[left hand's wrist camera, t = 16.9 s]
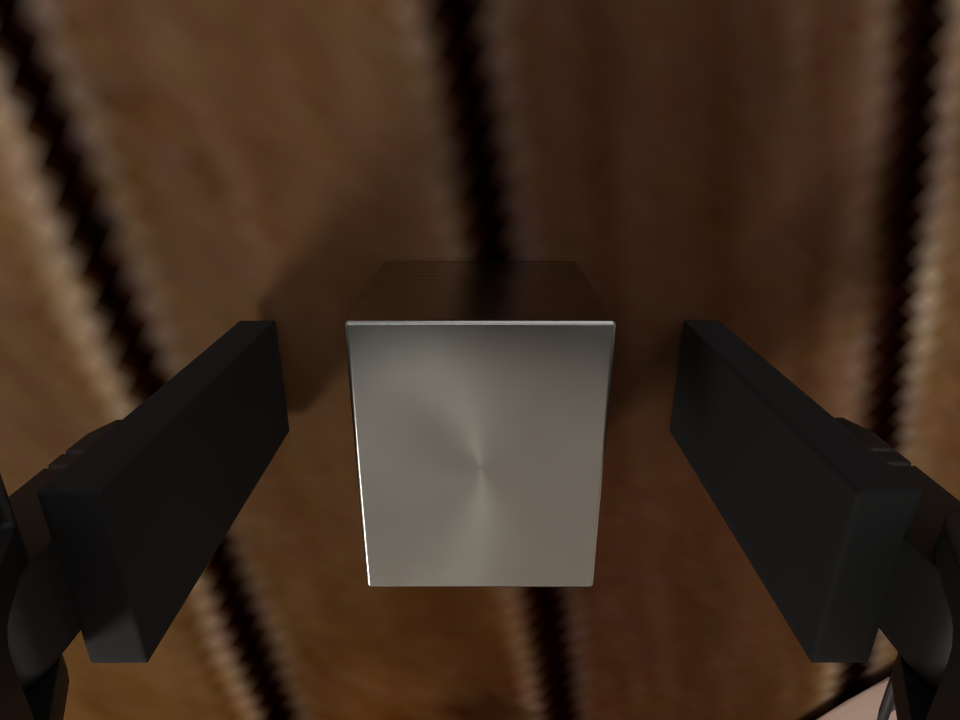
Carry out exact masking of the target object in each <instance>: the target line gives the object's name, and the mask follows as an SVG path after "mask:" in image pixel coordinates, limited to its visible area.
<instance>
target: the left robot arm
mask: <svg viewBox="0 0 960 720" xmlns="http://www.w3.org/2000/svg"><path fill="white" fill-rule="evenodd" d="M288 432H289V425H288V417H287V410H286V402H285V395H284V387H283V380H282V372H281V365H280V357H279V350H278V342H277V334H276V327H275V321H240V322H238V323H237V324H236V325H235V326H234V327H232V328H231V329H230V330H229V331H228V332H227V333H225V334H224V335H223V336H222V337H221V338H219V339H218V340H217V341H216V342H215V343H213V344H212V345H211V346H210V347H209V348H208V349H206V350H205V351H204V352H203V353H202V354H200V355H199V356H198V357H197V358H196V359H194V360H193V361H192V362H191V363H190V364H188V365H187V366H186V367H185V368H184V369H183V370H181V371H180V372H179V373H178V374H177V375H175V376H174V377H173V378H172V379H171V380H169V381H168V382H167V383H166V384H165V385H163V386H162V387H161V388H160V389H159V390H158V391H156V392H155V393H154V394H153V395H152V396H150V397H149V398H148V399H147V400H146V401H144V402H143V403H142V404H141V405H140V406H138V407H137V408H136V409H135V410H134V411H133V412H131V413H130V414H129V415H128V416H127V417H125V418H124V419H123V420H116V421H113V422H111V423H109V424H107V425H105V426H103V427H101V428H99V429H97V430H95V431H93V432H91V433H89V434H87V435H85V436H84V437H83V438H82V439H81V440H79V441H78V442H77V443H76V444H74V445H73V446H72V447H71V448H69V449H68V450H67V451H66V454H62V455H61V456H59V457H58V458H57V459H56V460H54V461H53V462H52V463H51V464H49V468H48V469H43V470H42V471H41V472H39V473H38V474H37V475H36V476H34V477H33V478H32V479H31V480H29V481H28V482H27V483H26V484H24V485H23V486H22V487H21V488H19V489H18V490H17V491H16V492H14V493H13V494H12V495H11V496H9V497H8V495H7V492H6V489H5V486H4V483H3V480H2V477H1V474H0V720H63V718H64V711H65V705H66V698H67V691H68V685H69V677H68V671H67V667H66V664H65V661H64V658H63V655H62V653H63V652H64V651H65V649H66V648H67V647H68V646H69V644H70V643H71V642H72V640H73V639H74V638H75V637H76V635H77V634H78V633H79V631H80V630H81V631H82V635H83V638H84V641H85V644H86V647H87V650H88V653H89V656H90V659H91V663H131V662H148V661H149V659H150V657H151V656H152V654H153V653H154V651H155V649H156V648H157V646H158V644H159V643H160V641H161V639H162V638H163V636H164V635H165V633H166V631H167V630H168V628H169V626H170V625H171V623H172V621H173V620H174V618H175V617H176V615H177V613H178V612H179V610H180V608H181V607H182V605H183V604H184V602H185V600H186V599H187V597H188V595H189V594H190V592H191V590H192V589H193V587H194V586H195V584H196V582H197V581H198V579H199V577H200V576H201V574H202V572H203V571H204V569H205V568H206V566H207V564H208V563H209V561H210V559H211V558H212V556H213V554H214V553H215V551H216V550H217V548H218V546H219V545H220V543H221V541H222V540H223V538H224V536H225V535H226V533H227V532H228V530H229V528H230V527H231V525H232V523H233V522H234V520H235V518H236V517H237V515H238V514H239V512H240V510H241V509H242V507H243V505H244V504H245V502H246V500H247V499H248V497H249V496H250V494H251V492H252V491H253V489H254V487H255V486H256V484H257V483H258V481H259V479H260V478H261V476H262V474H263V473H264V471H265V469H266V468H267V466H268V465H269V463H270V461H271V460H272V458H273V456H274V455H275V453H276V451H277V450H278V448H279V447H280V445H281V443H282V442H283V440H284V438H285V437H286V435H287V433H288ZM670 432H671V433H672V435H673V437H674V438H675V440H676V442H677V443H678V445H679V447H680V448H681V450H682V451H683V453H684V455H685V456H686V458H687V460H688V461H689V463H690V464H691V466H692V468H693V469H694V471H695V473H696V474H697V476H698V478H699V479H700V481H701V482H702V484H703V486H704V487H705V489H706V491H707V492H708V494H709V496H710V497H711V499H712V500H713V502H714V504H715V505H716V507H717V509H718V510H719V512H720V514H721V515H722V517H723V518H724V520H725V522H726V523H727V525H728V527H729V528H730V530H731V532H732V533H733V535H734V536H735V538H736V540H737V541H738V543H739V545H740V546H741V548H742V550H743V551H744V553H745V554H746V556H747V558H748V559H749V561H750V563H751V564H752V566H753V567H754V569H755V571H756V572H757V574H758V576H759V577H760V579H761V581H762V582H763V584H764V585H765V587H766V589H767V590H768V592H769V594H770V595H771V597H772V599H773V600H774V602H775V603H776V605H777V607H778V608H779V610H780V612H781V613H782V615H783V617H784V618H785V620H786V621H787V623H788V625H789V626H790V628H791V630H792V631H793V633H794V635H795V636H796V638H797V639H798V641H799V643H800V644H801V646H802V648H803V649H804V651H805V653H806V654H807V656H808V657H809V659H810V661H811V662H868V659H869V656H870V653H871V650H872V647H873V643H874V640H875V637H876V634H877V631H878V628H880V629H881V631H882V632H883V633H884V634H885V636H886V637H887V638H888V640H889V641H890V642H891V643H892V645H893V646H894V647H895V648H896V650H897V651H898V655H897V658H896V661H895V664H894V667H893V669H892V672H891V675H890V678H889V681H888V684H887V687H886V690H885V693H884V696H883V699H882V702H881V704H880V707H879V711H878V717H877V720H889V717H890V714H891V712H892V711H894V710H896V716H897V720H960V501H959V500H957V499H956V498H955V497H954V496H952V495H951V494H950V493H949V492H947V491H946V490H945V489H944V488H942V487H941V486H940V485H939V484H937V483H936V482H935V481H933V480H932V479H931V478H930V477H928V476H927V475H926V474H925V473H923V472H922V471H921V470H920V469H918V468H917V467H916V466H911V462H910V461H908V460H907V459H906V458H905V457H903V456H902V455H901V454H899V453H898V452H893V448H892V447H891V446H889V445H888V444H887V443H886V442H884V441H883V440H882V439H881V438H879V437H878V436H877V435H876V434H874V433H873V432H871V431H869V430H867V429H865V428H863V427H861V426H859V425H857V424H855V423H853V422H850V421H848V420H846V419H844V418H834V417H832V416H831V415H830V414H829V413H828V412H826V411H825V410H824V409H823V408H822V407H820V406H819V405H818V404H817V403H816V402H815V401H813V400H812V399H811V398H810V397H809V396H807V395H806V394H805V393H804V392H803V391H801V390H800V389H799V388H798V387H797V386H795V385H794V384H793V383H792V382H791V381H790V380H788V379H787V378H786V377H785V376H784V375H782V374H781V373H780V372H779V371H778V370H776V369H775V368H774V367H773V366H772V365H770V364H769V363H768V362H767V361H766V360H765V359H763V358H762V357H761V356H760V355H759V354H757V353H756V352H755V351H754V350H753V349H751V348H750V347H749V346H748V345H747V344H745V343H744V342H743V341H742V340H741V339H740V338H738V337H737V336H736V335H735V334H734V333H732V332H731V331H730V330H729V329H728V328H726V327H725V326H724V325H723V324H722V323H720V322H719V321H684V326H683V334H682V342H681V349H680V357H679V364H678V372H677V379H676V387H675V395H674V402H673V410H672V417H671V425H670Z"/></svg>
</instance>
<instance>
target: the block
mask: <svg viewBox="0 0 960 720" xmlns="http://www.w3.org/2000/svg"><path fill="white" fill-rule="evenodd" d="M344 327H345V338H346V350H347V361H348V373H349V384H350V396H351V407H352V418H353V430H354V441H355V453H356V464H357V476H358V487H359V498H360V510H361V521H362V533H363V544H364V556H365V567H366V578H367V584H368V586H370V587H591V586H592V585H593V581H594V570H595V559H596V547H597V536H598V525H599V514H600V502H601V491H602V480H603V468H604V457H605V446H606V434H607V423H608V412H609V400H610V389H611V378H612V366H613V355H614V344H615V333H616V322H615V320H614V318H613V317H612V315H611V314H610V312H609V311H608V309H607V308H606V306H605V305H604V303H603V302H602V301H601V299H600V298H599V296H598V295H597V293H596V292H595V290H594V289H593V287H592V286H591V284H590V283H589V281H588V280H587V278H586V277H585V275H584V274H583V272H582V271H581V269H580V268H579V266H578V265H577V263H575V262H385V263H384V264H383V265H382V267H381V268H380V270H379V271H378V273H377V274H376V276H375V277H374V279H373V280H372V282H371V283H370V285H369V286H368V288H367V289H366V291H365V292H364V294H363V295H362V297H361V298H360V300H359V301H358V303H357V304H356V306H355V307H354V309H353V310H352V312H351V313H350V315H349V316H348V317H347V319H346V320H345V323H344Z"/></svg>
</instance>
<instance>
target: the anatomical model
mask: <svg viewBox="0 0 960 720" xmlns="http://www.w3.org/2000/svg"><path fill="white" fill-rule="evenodd" d="M889 678H890V677H888V678H886V679H884V680H882V681H881V682H879V683H877V684H875V685H873V686H872V687H870V688H868V689H866V690H865V691H863V692H861V693H859V694H857V695H856V696H854V697H852V698H850V699H848V700H847V701H845V702H843V703H842V704H840V705H838V706H837V707H835V708H834V709H832V710H830V711H829V712H827V713H826V714H824V715H822V716H821V717H819V718H818V719H816V720H877V717H878V711H879V707H880V704H881V702H882V699H883V696H884V693H885V690H886V687H887V684H888V681H889ZM889 720H897V716H896V710H894V711H892V712H891V714H890V717H889Z"/></svg>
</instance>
